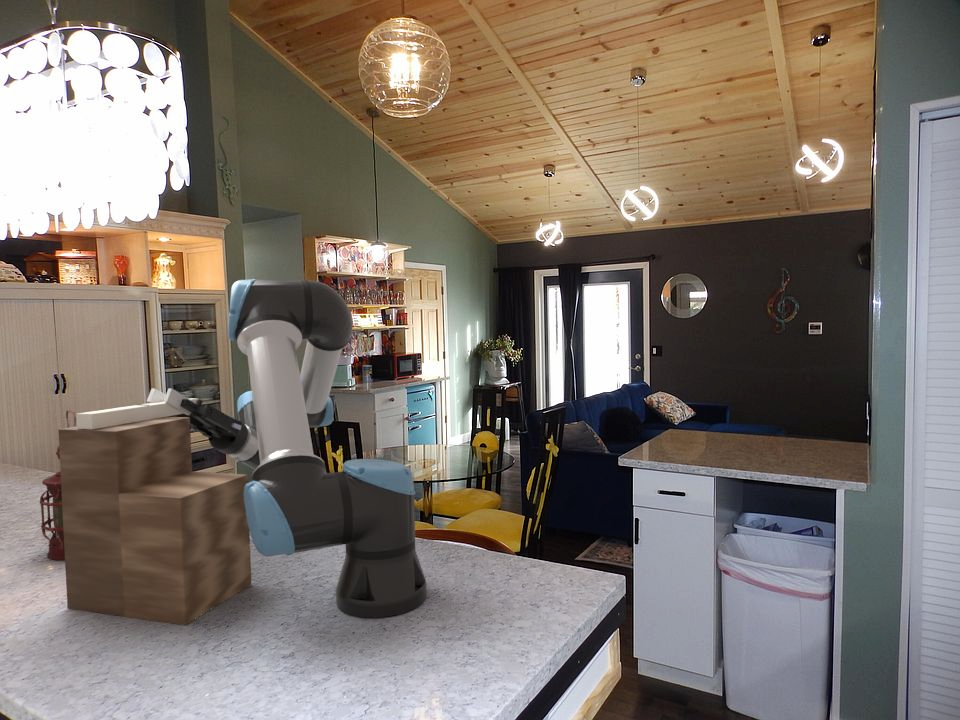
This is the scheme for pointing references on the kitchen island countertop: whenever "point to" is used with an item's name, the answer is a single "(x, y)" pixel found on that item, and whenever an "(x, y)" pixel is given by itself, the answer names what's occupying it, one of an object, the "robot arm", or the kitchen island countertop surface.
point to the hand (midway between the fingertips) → (159, 395)
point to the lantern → (54, 510)
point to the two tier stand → (149, 523)
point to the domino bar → (125, 415)
